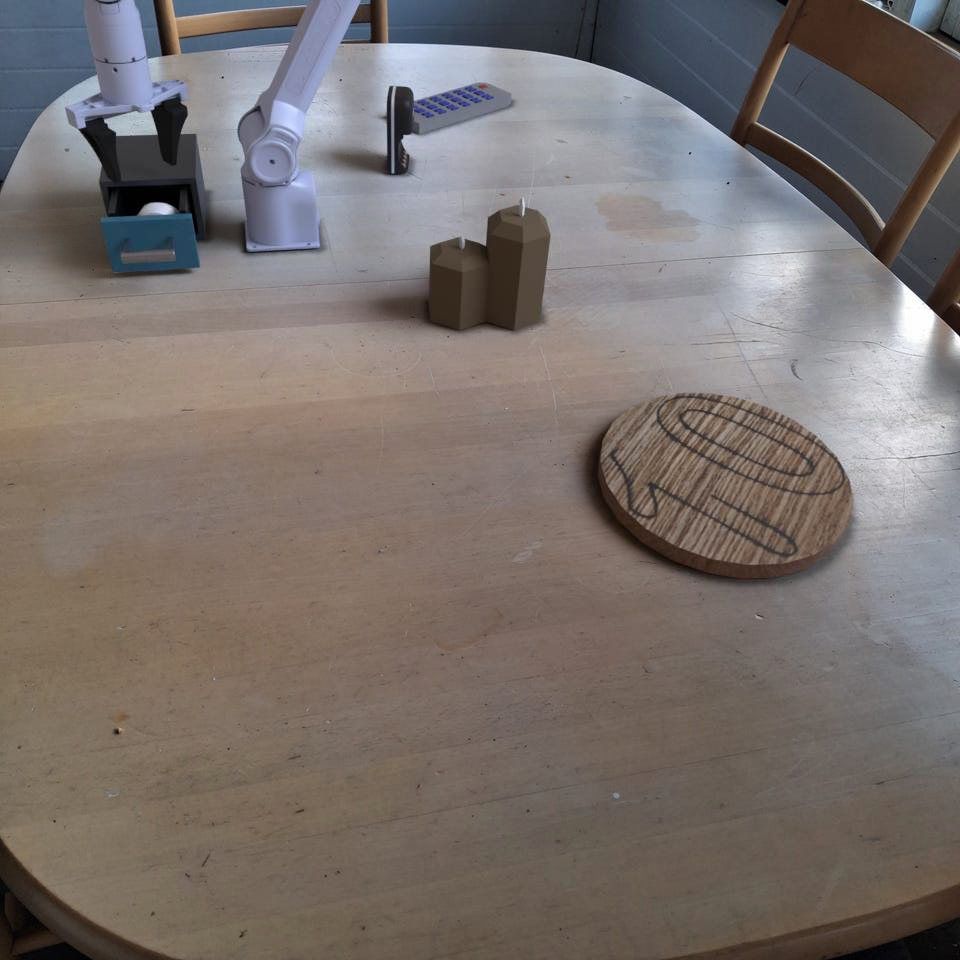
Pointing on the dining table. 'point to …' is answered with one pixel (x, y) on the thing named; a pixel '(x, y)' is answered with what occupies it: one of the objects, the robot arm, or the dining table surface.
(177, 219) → the drawer
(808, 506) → the trivet
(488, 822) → the dining table surface
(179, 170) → the cabinet
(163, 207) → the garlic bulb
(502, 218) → the candle
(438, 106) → the remote control
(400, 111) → the battery charger
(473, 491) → the dining table surface
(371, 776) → the dining table surface
